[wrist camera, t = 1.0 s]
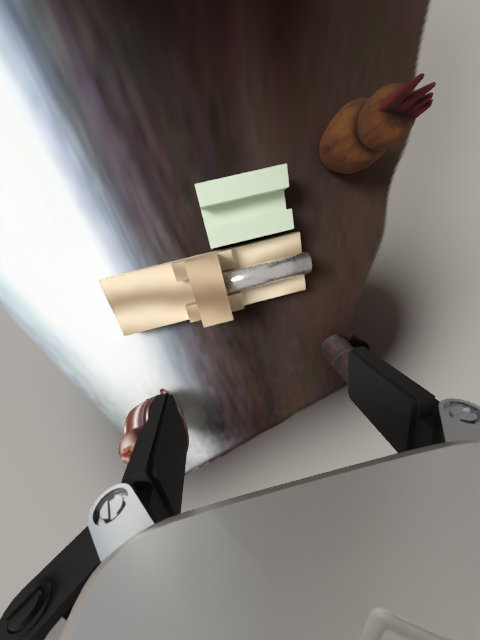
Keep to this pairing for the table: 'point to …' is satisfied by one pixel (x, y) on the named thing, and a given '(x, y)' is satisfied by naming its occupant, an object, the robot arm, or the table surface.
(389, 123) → the wooden figurine
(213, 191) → the block
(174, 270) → the maple beam
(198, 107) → the table surface
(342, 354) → the butter churn
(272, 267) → the steel axle
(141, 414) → the alarm clock
